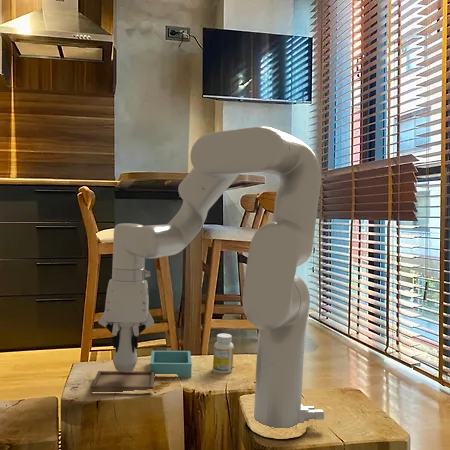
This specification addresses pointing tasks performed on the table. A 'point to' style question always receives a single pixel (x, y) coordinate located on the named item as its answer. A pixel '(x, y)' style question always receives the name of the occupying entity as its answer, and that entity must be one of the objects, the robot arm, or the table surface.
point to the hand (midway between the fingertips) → (125, 350)
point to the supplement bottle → (223, 354)
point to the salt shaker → (125, 349)
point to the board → (123, 381)
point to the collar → (171, 362)
